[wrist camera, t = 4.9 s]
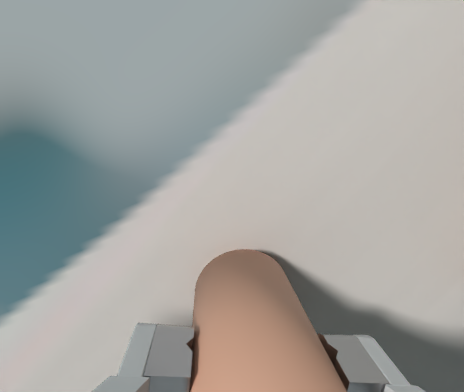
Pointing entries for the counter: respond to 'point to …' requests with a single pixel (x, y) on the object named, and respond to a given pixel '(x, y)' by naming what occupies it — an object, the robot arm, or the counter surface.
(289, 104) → the counter surface
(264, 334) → the pin
